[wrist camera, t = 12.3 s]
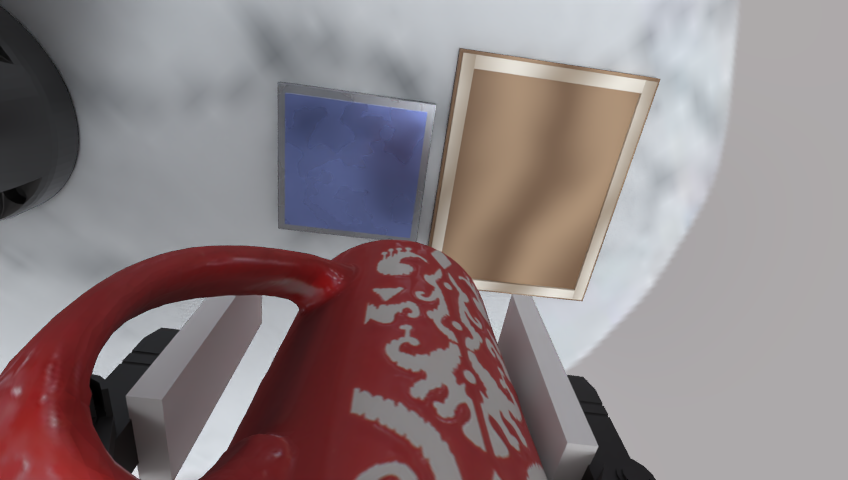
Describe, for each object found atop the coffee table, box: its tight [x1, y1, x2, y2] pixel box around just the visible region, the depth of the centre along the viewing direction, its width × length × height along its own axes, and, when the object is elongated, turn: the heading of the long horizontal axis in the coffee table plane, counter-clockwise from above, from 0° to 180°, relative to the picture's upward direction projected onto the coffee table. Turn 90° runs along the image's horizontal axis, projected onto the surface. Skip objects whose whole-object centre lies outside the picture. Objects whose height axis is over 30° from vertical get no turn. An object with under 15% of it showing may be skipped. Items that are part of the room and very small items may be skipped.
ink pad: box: [278, 82, 436, 242], centre depth 30 cm, size 10×10×1 cm
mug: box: [0, 240, 547, 480], centre depth 11 cm, size 13×9×14 cm
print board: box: [428, 48, 660, 301], centre depth 31 cm, size 13×17×1 cm
